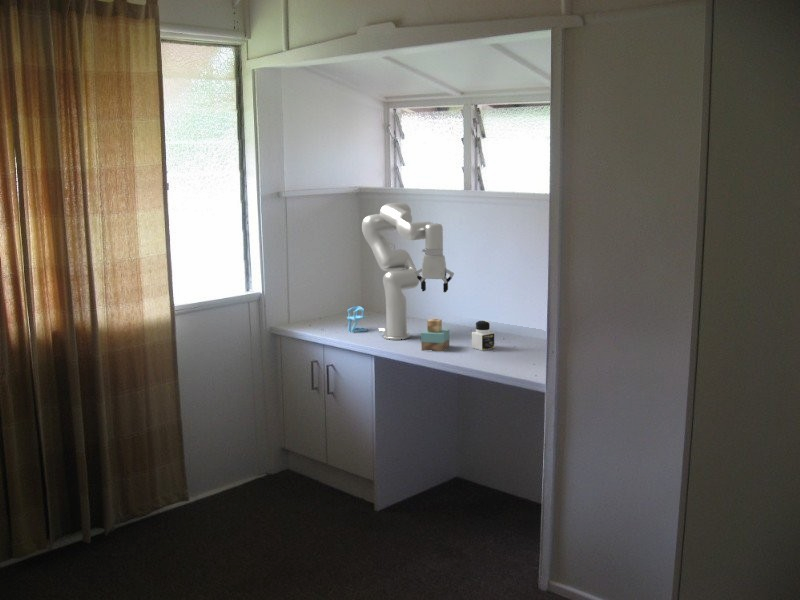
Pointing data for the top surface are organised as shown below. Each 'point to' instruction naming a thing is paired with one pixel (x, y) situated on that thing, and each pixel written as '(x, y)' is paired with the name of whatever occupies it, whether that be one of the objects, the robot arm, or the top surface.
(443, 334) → the teal slab
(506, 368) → the top surface
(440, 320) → the oak block
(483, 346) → the medicine bottle
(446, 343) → the walnut slab
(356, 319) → the chair
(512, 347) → the top surface
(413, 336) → the top surface
